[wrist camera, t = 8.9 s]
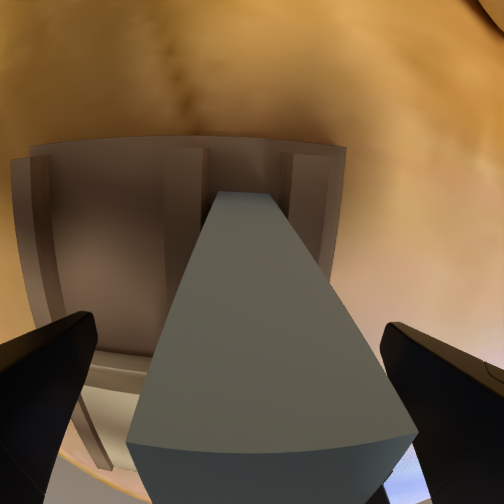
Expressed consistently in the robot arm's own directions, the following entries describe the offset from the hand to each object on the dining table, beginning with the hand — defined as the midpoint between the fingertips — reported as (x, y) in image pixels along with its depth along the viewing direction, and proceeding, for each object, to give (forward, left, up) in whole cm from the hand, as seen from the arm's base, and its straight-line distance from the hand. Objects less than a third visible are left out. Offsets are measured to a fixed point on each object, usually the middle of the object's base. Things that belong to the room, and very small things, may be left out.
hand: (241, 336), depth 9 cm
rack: (-5, +3, -6) cm, 9 cm away
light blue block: (0, 0, -5) cm, 5 cm away
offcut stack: (-10, +6, -5) cm, 12 cm away
